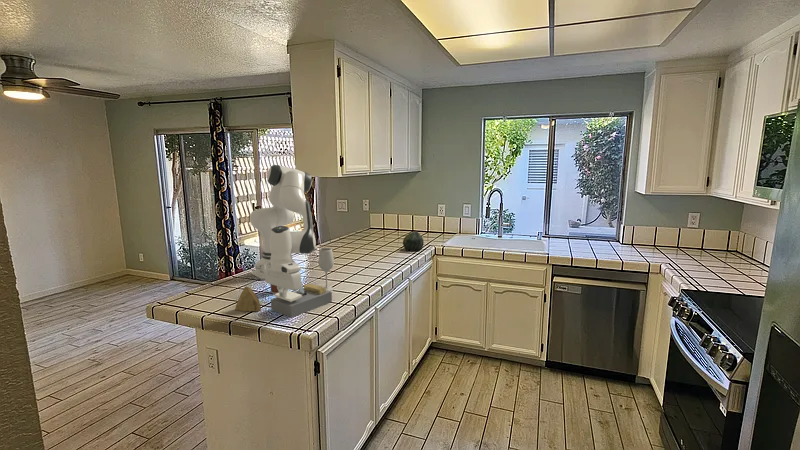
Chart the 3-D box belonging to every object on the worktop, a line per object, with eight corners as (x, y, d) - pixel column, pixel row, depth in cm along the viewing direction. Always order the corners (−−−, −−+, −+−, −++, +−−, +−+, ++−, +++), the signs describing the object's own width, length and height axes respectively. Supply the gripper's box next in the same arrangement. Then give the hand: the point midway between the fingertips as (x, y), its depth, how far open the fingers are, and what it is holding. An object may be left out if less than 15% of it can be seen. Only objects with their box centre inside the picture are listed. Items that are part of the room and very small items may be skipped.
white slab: (274, 296, 171) (274, 294, 171) (285, 291, 176) (285, 289, 175) (290, 301, 164) (290, 299, 164) (302, 297, 169) (301, 294, 169)
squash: (399, 240, 296) (404, 228, 285) (418, 240, 300) (423, 228, 289) (403, 256, 287) (408, 243, 276) (422, 255, 292) (428, 243, 281)
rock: (268, 304, 173) (257, 295, 179) (256, 292, 167) (246, 284, 174) (248, 323, 168) (239, 313, 175) (236, 312, 163) (227, 302, 170)
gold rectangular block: (303, 289, 184) (303, 285, 184) (309, 287, 187) (309, 283, 187) (319, 294, 178) (319, 289, 177) (325, 292, 180) (325, 287, 180)
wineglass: (319, 292, 195) (318, 251, 192) (318, 287, 202) (317, 248, 199) (335, 291, 197) (334, 250, 194) (333, 286, 204) (332, 247, 201)
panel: (271, 310, 172) (270, 295, 171) (311, 295, 190) (311, 282, 189) (291, 317, 164) (291, 302, 163) (331, 301, 182) (331, 287, 181)
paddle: (299, 295, 176) (296, 283, 176) (303, 294, 177) (299, 282, 177) (301, 295, 175) (298, 282, 175) (305, 294, 176) (302, 281, 177)
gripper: (260, 262, 169) (262, 293, 171) (291, 270, 157) (292, 303, 159) (272, 260, 174) (274, 290, 176) (303, 267, 162) (304, 299, 164)
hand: (283, 296), depth 168 cm, fingers closed
